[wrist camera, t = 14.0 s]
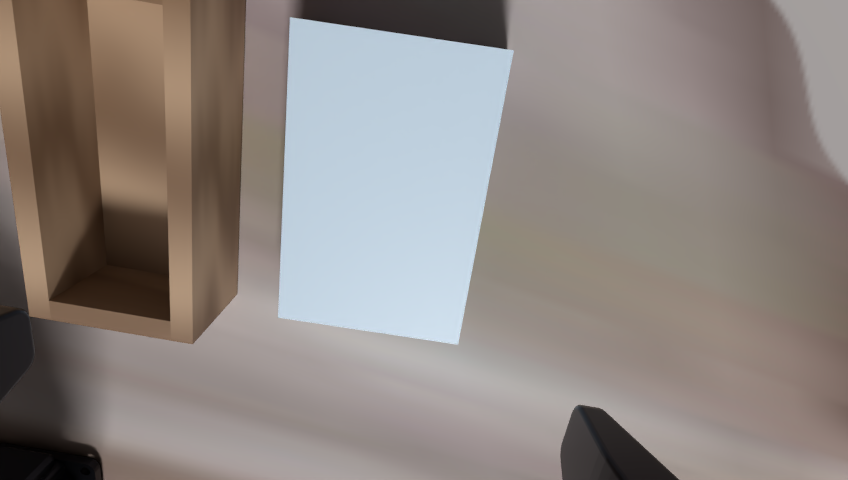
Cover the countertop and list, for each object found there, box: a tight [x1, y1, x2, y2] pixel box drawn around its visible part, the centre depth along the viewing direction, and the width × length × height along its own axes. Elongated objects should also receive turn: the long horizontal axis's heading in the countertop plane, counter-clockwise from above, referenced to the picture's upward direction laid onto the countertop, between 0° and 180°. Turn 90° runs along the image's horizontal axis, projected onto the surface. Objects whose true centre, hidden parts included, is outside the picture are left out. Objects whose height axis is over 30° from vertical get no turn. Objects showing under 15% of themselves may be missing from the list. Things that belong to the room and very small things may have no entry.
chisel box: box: [0, 0, 246, 344], centre depth 15 cm, size 16×6×8 cm, turn 171°
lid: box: [278, 17, 514, 344], centre depth 19 cm, size 11×7×2 cm, turn 172°
